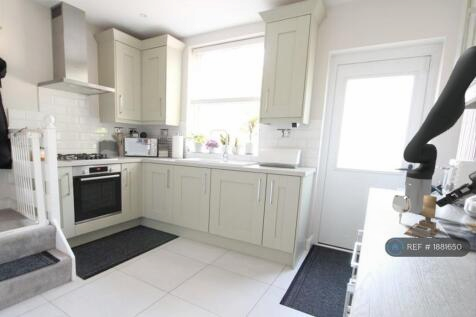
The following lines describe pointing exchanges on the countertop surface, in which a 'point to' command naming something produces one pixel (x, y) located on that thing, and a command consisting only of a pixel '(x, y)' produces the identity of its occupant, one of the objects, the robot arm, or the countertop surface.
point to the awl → (429, 207)
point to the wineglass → (401, 205)
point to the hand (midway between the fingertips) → (442, 203)
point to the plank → (422, 229)
